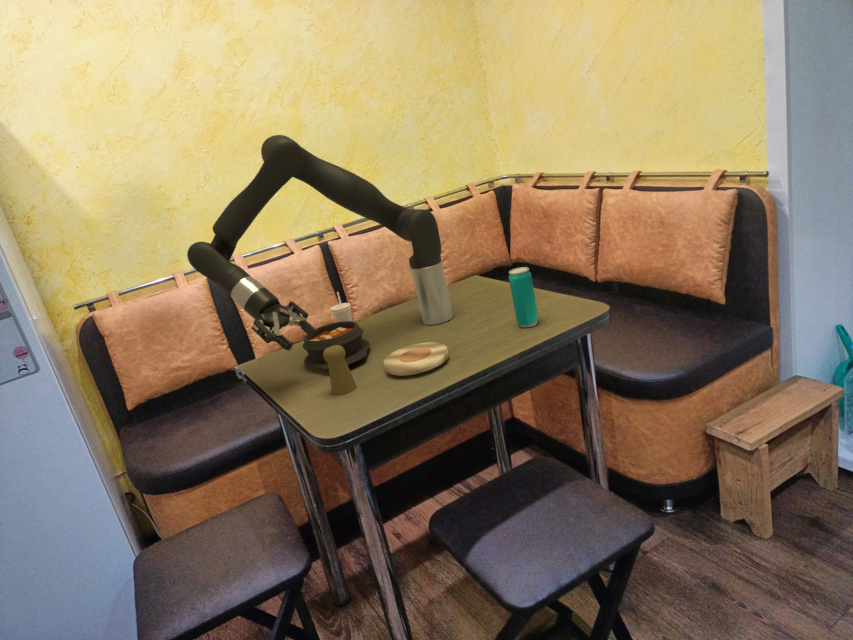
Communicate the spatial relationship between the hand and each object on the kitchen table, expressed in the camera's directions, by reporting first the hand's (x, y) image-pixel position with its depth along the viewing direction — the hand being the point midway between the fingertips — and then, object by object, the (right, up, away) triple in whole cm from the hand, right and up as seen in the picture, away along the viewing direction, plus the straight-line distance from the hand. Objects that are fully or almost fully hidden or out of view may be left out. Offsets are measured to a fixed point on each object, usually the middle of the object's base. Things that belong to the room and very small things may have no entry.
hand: (302, 340), depth 144 cm
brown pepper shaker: (+10, -12, -1) cm, 16 cm away
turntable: (+28, -6, +4) cm, 29 cm away
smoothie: (+6, 0, +39) cm, 39 cm away
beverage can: (+57, +4, +13) cm, 58 cm away
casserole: (+6, -6, +21) cm, 23 cm away
